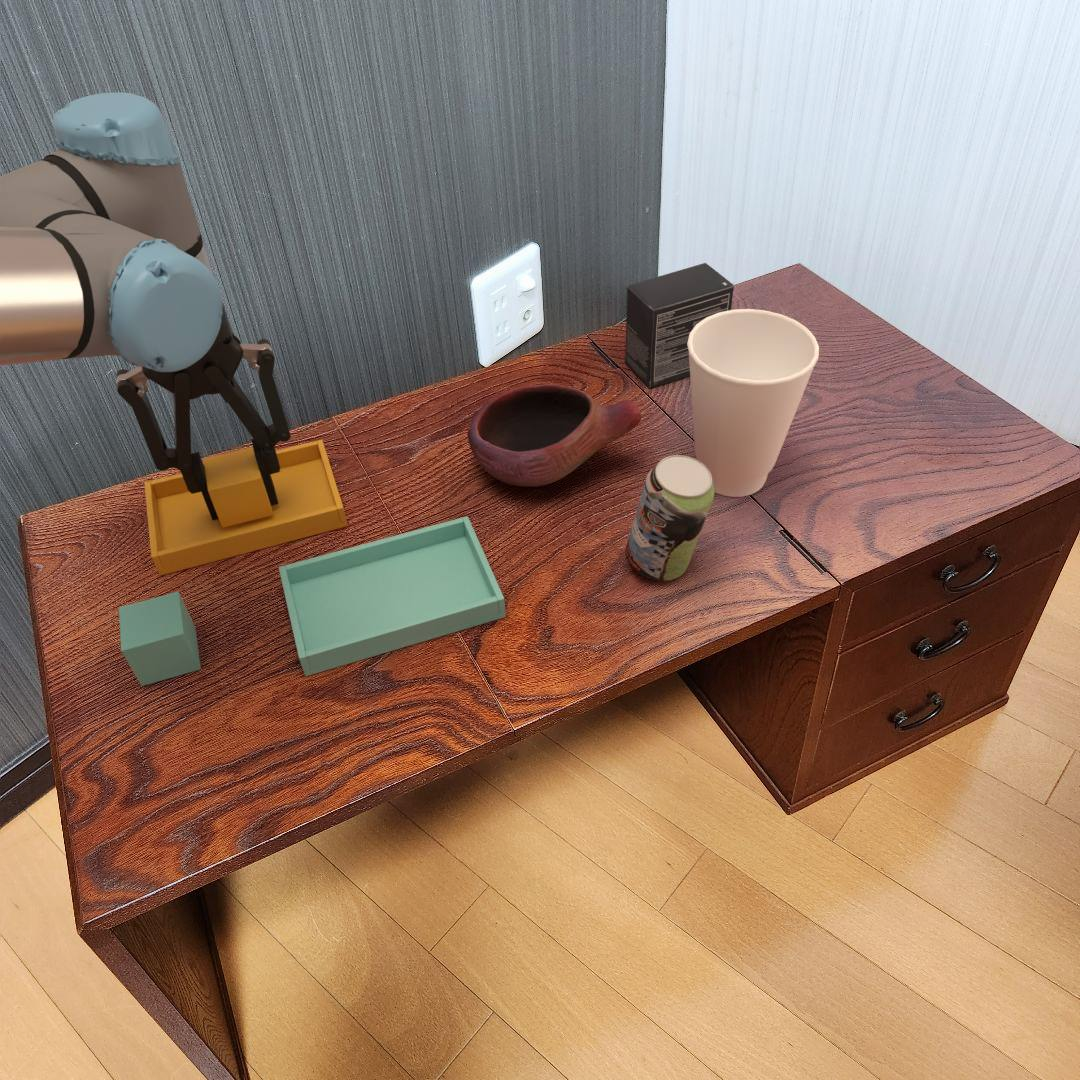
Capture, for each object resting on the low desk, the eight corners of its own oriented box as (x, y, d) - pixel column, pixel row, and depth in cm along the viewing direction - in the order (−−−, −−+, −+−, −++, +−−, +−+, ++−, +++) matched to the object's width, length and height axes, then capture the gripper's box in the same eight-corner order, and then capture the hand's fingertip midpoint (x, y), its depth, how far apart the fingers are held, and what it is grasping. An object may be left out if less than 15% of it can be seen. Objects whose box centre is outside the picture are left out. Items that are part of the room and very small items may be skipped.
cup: (810, 464, 97) (841, 333, 85) (757, 530, 90) (784, 398, 79) (709, 423, 102) (726, 295, 90) (652, 484, 95) (663, 353, 84)
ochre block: (222, 528, 91) (207, 490, 87) (216, 495, 94) (202, 458, 91) (273, 515, 92) (261, 477, 89) (266, 483, 95) (254, 446, 92)
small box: (697, 337, 114) (706, 259, 106) (727, 365, 109) (738, 285, 102) (621, 361, 111) (625, 282, 103) (649, 390, 106) (654, 310, 99)
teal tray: (305, 676, 80) (298, 658, 78) (284, 585, 87) (278, 566, 85) (506, 617, 84) (504, 598, 82) (470, 534, 91) (467, 515, 89)
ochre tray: (160, 576, 89) (151, 557, 87) (152, 500, 96) (144, 482, 94) (348, 526, 92) (343, 507, 91) (326, 457, 100) (322, 439, 98)
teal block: (141, 686, 80) (121, 650, 76) (138, 643, 83) (118, 607, 79) (200, 669, 81) (183, 633, 77) (195, 627, 84) (178, 591, 80)
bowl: (506, 524, 92) (502, 463, 86) (454, 451, 100) (446, 391, 94) (644, 471, 97) (649, 410, 91) (584, 405, 105) (584, 345, 99)
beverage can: (627, 538, 90) (632, 442, 82) (703, 544, 89) (717, 448, 81) (622, 586, 86) (627, 491, 77) (702, 593, 85) (716, 498, 76)
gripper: (275, 255, 81) (326, 458, 98) (56, 298, 77) (148, 502, 94) (289, 298, 76) (340, 504, 93) (56, 346, 72) (153, 552, 89)
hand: (244, 503), depth 93 cm, fingers closed on ochre block, 5 cm apart
